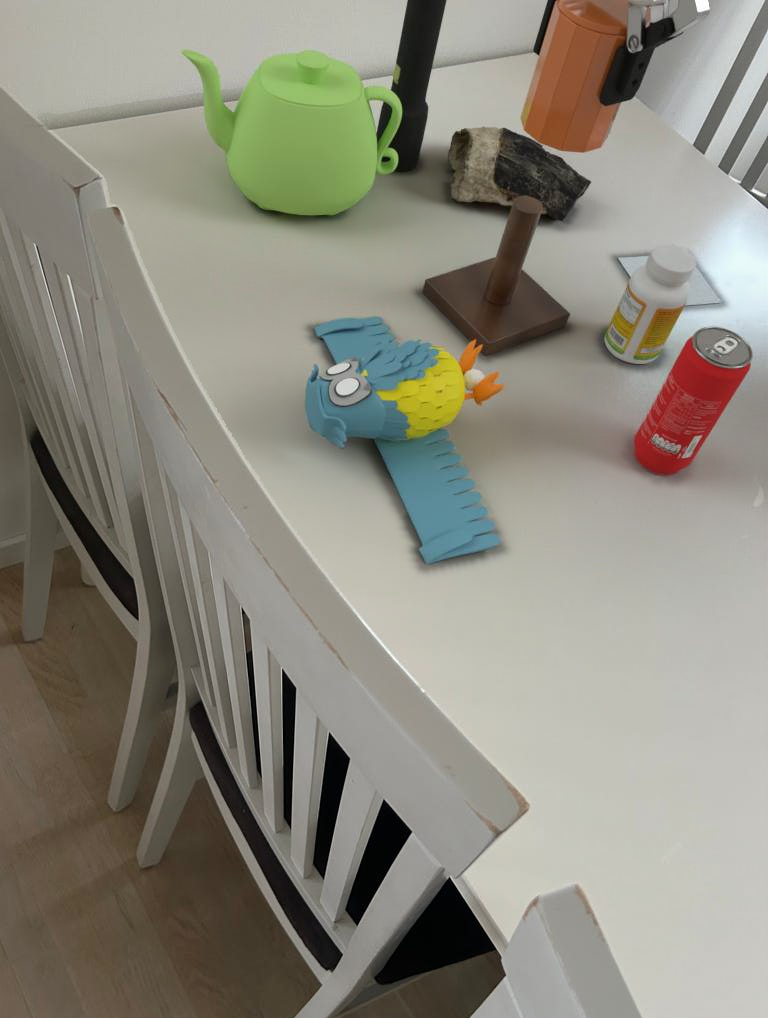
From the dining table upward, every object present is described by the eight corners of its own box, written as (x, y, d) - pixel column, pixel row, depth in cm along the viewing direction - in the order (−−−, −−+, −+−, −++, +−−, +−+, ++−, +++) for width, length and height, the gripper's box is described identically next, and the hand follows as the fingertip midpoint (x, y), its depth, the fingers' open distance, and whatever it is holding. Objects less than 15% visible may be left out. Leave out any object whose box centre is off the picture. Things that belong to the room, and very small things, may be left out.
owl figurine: (575, 466, 71) (380, 502, 68) (539, 541, 79) (362, 577, 75) (432, 232, 86) (265, 253, 82) (413, 315, 93) (258, 336, 89)
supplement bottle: (664, 340, 95) (710, 251, 87) (651, 373, 92) (698, 284, 84) (610, 321, 96) (651, 231, 88) (596, 352, 93) (637, 263, 85)
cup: (567, 98, 81) (608, -25, 73) (623, 141, 78) (672, 18, 70) (504, 114, 78) (539, -11, 71) (559, 160, 75) (602, 34, 68)
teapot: (177, 221, 97) (178, 86, 86) (183, 137, 106) (184, 4, 95) (396, 239, 99) (424, 109, 89) (385, 155, 108) (410, 27, 97)
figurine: (666, 289, 99) (674, 273, 98) (654, 272, 101) (661, 255, 99) (686, 288, 100) (695, 272, 98) (674, 270, 101) (682, 254, 100)
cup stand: (501, 266, 99) (535, 161, 90) (565, 326, 94) (608, 223, 85) (421, 292, 95) (448, 186, 86) (484, 356, 91) (520, 251, 82)
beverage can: (617, 451, 86) (676, 339, 76) (653, 427, 88) (715, 315, 78) (663, 488, 84) (730, 378, 74) (699, 462, 86) (769, 353, 76)
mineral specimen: (455, 91, 105) (596, 100, 105) (444, 159, 111) (577, 168, 111) (460, 154, 97) (612, 163, 97) (448, 223, 103) (591, 232, 103)
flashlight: (407, 143, 109) (365, 147, 108) (460, -114, 90) (410, -113, 88) (425, 169, 107) (382, 173, 106) (484, -90, 87) (433, -88, 86)
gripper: (833, -176, 58) (697, 125, 72) (632, -278, 65) (545, 14, 80) (747, -165, 55) (623, 146, 70) (547, -272, 62) (473, 29, 77)
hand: (582, 73), depth 74 cm, fingers closed on cup, 6 cm apart
